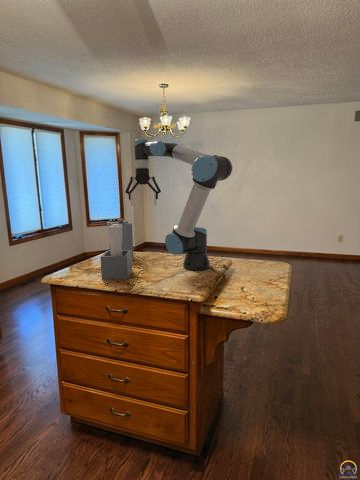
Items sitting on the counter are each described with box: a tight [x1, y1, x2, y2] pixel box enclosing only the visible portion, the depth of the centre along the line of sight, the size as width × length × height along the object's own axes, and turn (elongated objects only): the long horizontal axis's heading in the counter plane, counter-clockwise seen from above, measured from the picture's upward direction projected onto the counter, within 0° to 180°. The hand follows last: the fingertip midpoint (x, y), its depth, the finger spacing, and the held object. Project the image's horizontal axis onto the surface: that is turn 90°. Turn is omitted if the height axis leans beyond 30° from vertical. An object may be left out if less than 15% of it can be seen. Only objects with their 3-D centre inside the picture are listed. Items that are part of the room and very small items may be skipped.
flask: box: [107, 218, 134, 259], centre depth 207 cm, size 17×5×25 cm, turn 65°
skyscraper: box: [106, 221, 123, 256], centre depth 167 cm, size 8×8×28 cm
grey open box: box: [99, 250, 134, 281], centre depth 168 cm, size 13×13×12 cm
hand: (143, 205), depth 185 cm, fingers open, 13 cm apart
